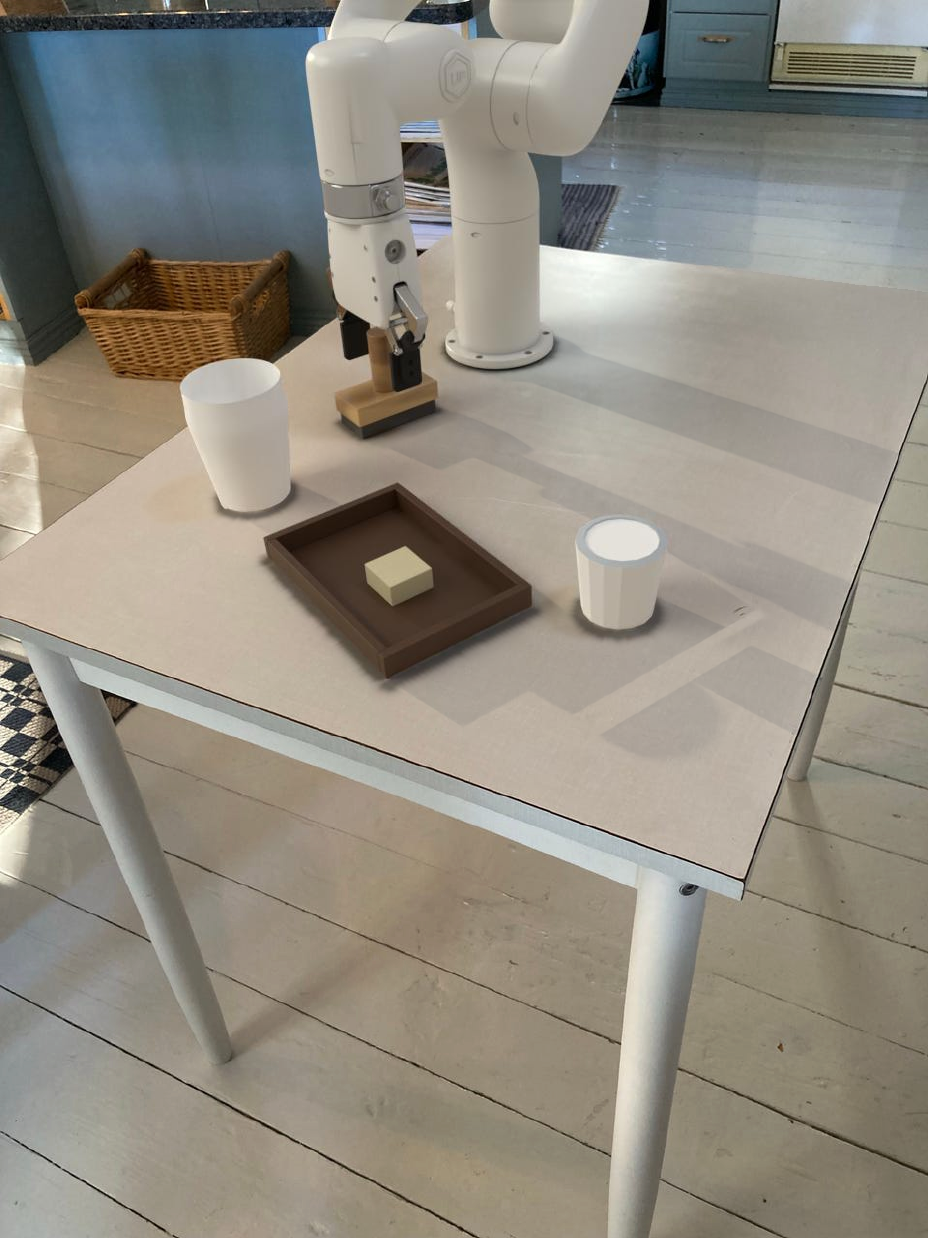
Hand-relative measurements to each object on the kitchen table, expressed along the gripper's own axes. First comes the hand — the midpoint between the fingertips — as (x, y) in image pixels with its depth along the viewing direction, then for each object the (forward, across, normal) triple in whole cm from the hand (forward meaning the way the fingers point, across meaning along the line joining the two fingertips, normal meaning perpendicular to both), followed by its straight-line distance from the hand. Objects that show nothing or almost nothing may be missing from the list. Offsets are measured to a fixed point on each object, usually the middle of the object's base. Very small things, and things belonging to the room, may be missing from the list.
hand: (382, 370), depth 101 cm
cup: (+6, -5, +18) cm, 19 cm away
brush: (+5, 0, 0) cm, 5 cm away
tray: (+6, -25, +15) cm, 29 cm away
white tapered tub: (+6, -39, +3) cm, 39 cm away
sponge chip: (+5, -26, +15) cm, 30 cm away
